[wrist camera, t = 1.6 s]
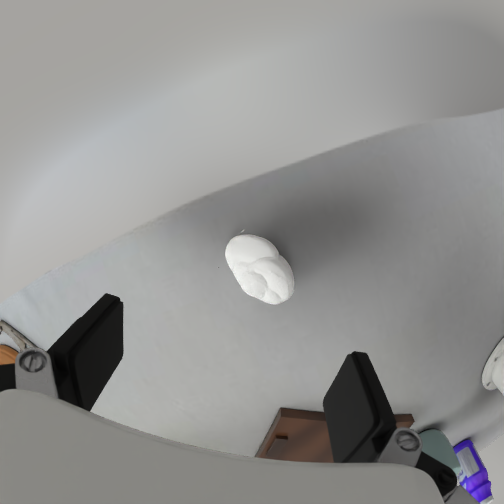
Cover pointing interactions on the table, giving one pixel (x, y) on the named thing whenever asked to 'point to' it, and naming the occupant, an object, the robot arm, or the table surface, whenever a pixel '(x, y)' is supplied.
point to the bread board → (304, 436)
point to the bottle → (473, 472)
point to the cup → (440, 449)
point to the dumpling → (260, 268)
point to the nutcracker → (15, 335)
